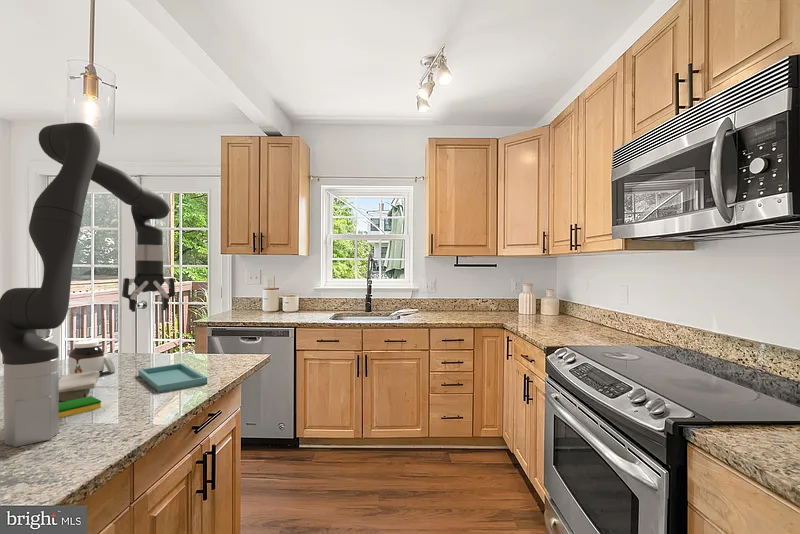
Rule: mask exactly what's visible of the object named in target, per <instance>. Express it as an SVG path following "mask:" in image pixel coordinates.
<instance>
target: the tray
mask: <svg viewBox="0 0 800 534" xmlns="http://www.w3.org/2000/svg"><path fill="white" fill-rule="evenodd" d="M137 371H138V373H137V374H138V375H137V376H138V377H139V376H140V377H141V380H143V381H144V382H145V383H146V384H147V385H148V386H150V387H151V388H152V389H153V390H154V391H156V393H158V394H161V393H166V392H172V391H177V390H182V389H188V388H192V387H193V388H194V387H199V386H205V385H208V376H206V375H204V374H203V373H200V372H199V371H197V370H195V369H193V368H192V367H191V366H189V365H187V364H185V363H182V362H181V363H175V364H168V365H166V364H165V365H160V366H153V367H148V368H146V367H145V368H140V369H139V368H138V370H137ZM140 377H139V378H140Z"/></svg>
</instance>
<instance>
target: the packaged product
mask: <svg viewBox="0 0 800 534" xmlns="http://www.w3.org/2000/svg"><path fill="white" fill-rule="evenodd" d="M100 375H101V373H100V374H99V371H92V372H85V373H77V374H70V373H69V374H64V375H61V376H60V377H59V401H62V402H66V401H70V400H75V399H79V398H84V397H89V393H90V391H91V389H95V388H96V385H97V383H98V381H99V377H100Z"/></svg>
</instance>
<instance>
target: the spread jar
mask: <svg viewBox="0 0 800 534" xmlns="http://www.w3.org/2000/svg"><path fill="white" fill-rule="evenodd" d="M99 344H100V343H99V340H93V339H92V340H81V341H76V342H74V343H73V349H72V350H71V351H70V352H69V354H68V359H67V360H68V364H67V365H68V367H67V368H68V373H69V375H70V374H77V373H85V372H92V371H99V374H100V375H101V374H102V373H103V371H104V369H105V368H106V370H107V371H108V372H109V373H110V374H112V373H115V372H116V366H115V364H114V362H113V360H112V358H111V356H110V355H109V354H108V353H106V354H105V353H104V351H103V349H102V348H101V347H100V346H99Z"/></svg>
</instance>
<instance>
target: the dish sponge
mask: <svg viewBox="0 0 800 534" xmlns="http://www.w3.org/2000/svg"><path fill="white" fill-rule="evenodd" d="M101 408H102V400H101V399H98V398H96V397H94V396H91V395H88V396H87V397H84V398H79V399H75V400H70V401H61V402H59V419H60V418H63V417H64V418H65V417H68V416H72V415H76V414H77V415H78V414H81V413H85V412H90V411H93V410H97V409H98V410H99V409H101Z"/></svg>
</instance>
